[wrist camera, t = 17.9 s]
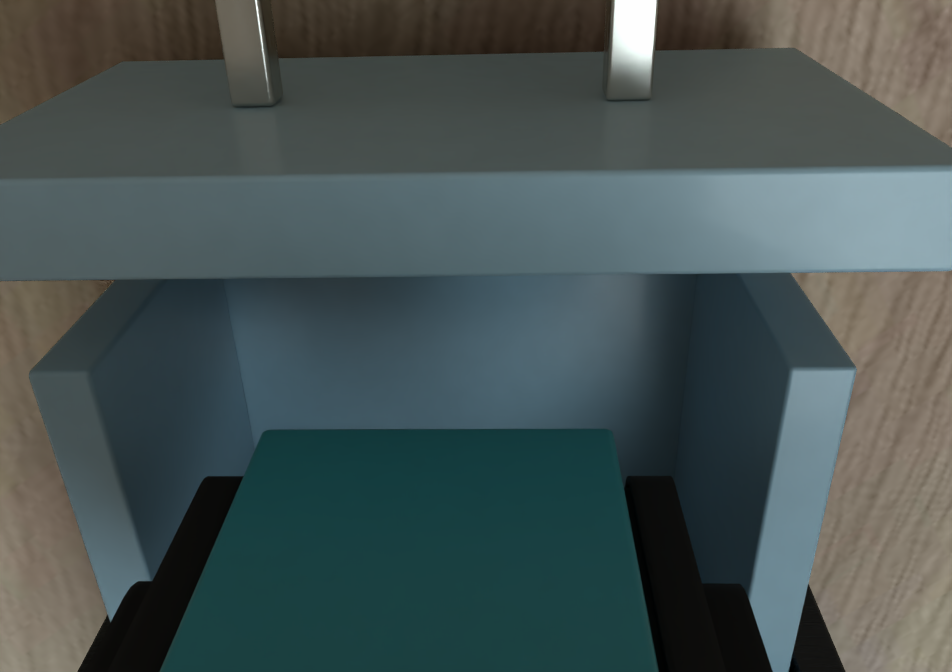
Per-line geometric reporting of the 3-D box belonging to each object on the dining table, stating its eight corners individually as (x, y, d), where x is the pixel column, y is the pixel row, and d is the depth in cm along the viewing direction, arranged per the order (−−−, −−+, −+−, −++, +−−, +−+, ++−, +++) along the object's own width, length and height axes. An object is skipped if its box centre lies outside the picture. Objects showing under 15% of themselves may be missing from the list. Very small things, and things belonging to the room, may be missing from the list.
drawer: (14, -413, 11) (-442, -669, 6) (873, -450, 11) (1242, -764, 5) (245, 621, 21) (153, 890, 16) (708, 624, 21) (783, 901, 15)
